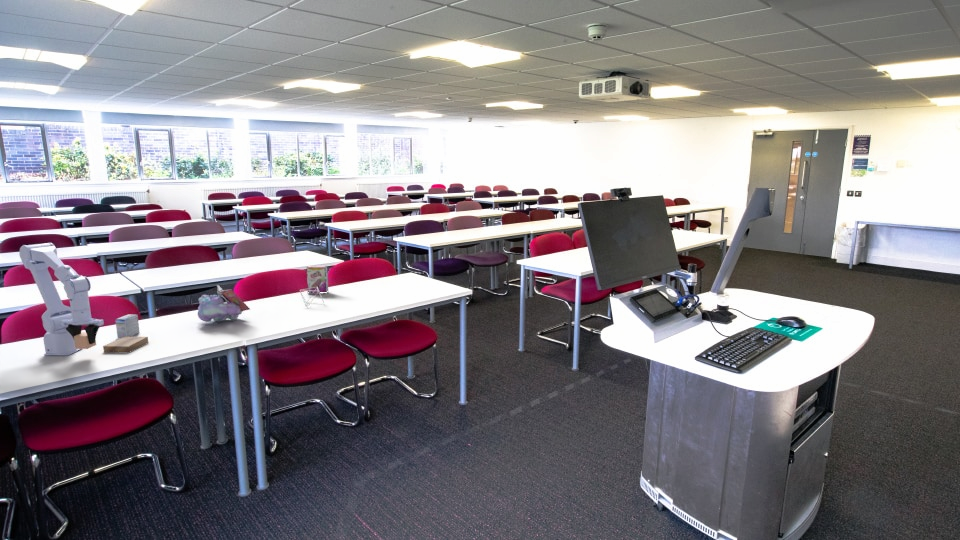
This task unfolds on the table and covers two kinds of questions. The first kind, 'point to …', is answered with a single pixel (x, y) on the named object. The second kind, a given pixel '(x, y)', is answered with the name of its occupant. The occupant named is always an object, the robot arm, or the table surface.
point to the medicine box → (127, 325)
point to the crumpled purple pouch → (221, 306)
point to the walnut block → (125, 344)
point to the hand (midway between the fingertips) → (85, 343)
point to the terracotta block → (82, 341)
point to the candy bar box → (317, 278)
